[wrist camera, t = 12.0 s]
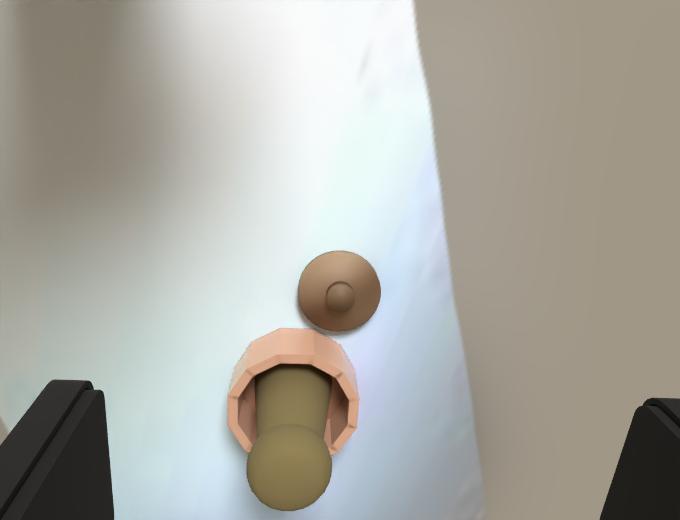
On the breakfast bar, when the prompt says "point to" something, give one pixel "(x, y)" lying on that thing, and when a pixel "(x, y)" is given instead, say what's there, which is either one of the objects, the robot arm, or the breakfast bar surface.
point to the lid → (339, 291)
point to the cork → (290, 436)
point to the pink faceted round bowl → (294, 350)
